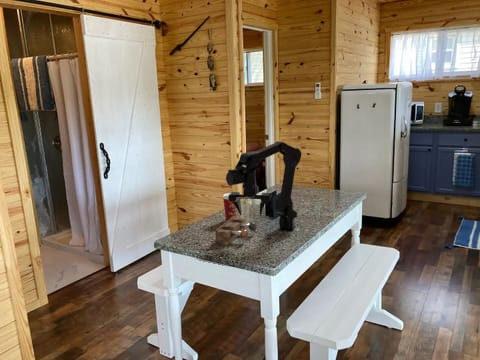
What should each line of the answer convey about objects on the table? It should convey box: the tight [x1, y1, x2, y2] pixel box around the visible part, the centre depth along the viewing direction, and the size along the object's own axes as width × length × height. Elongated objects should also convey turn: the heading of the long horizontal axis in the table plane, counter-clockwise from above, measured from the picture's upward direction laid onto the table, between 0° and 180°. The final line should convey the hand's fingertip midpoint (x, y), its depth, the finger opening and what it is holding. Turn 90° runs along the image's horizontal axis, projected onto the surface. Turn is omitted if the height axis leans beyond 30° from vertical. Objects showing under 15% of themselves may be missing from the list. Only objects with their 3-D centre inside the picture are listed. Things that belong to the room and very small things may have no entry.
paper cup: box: [222, 192, 238, 222], centre depth 206 cm, size 8×8×14 cm
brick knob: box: [230, 229, 249, 240], centre depth 178 cm, size 8×4×4 cm, turn 66°
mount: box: [215, 216, 247, 246], centre depth 185 cm, size 6×20×6 cm, turn 156°
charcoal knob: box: [239, 221, 258, 232], centre depth 186 cm, size 8×4×4 cm, turn 66°
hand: (250, 215), depth 178 cm, fingers open, 9 cm apart
